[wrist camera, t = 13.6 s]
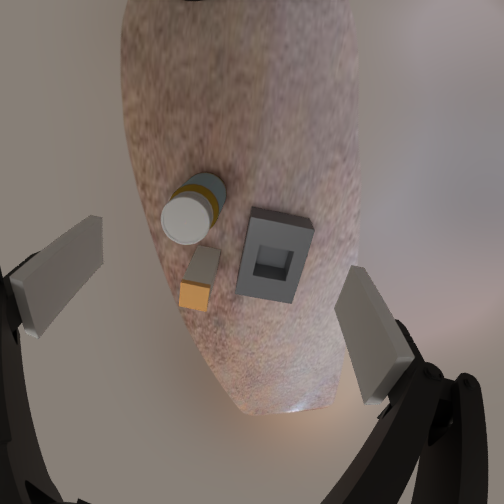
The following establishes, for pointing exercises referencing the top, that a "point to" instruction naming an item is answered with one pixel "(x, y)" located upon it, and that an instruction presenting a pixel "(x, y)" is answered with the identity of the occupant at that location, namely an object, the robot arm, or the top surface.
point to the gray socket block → (273, 255)
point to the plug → (199, 278)
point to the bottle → (194, 208)
